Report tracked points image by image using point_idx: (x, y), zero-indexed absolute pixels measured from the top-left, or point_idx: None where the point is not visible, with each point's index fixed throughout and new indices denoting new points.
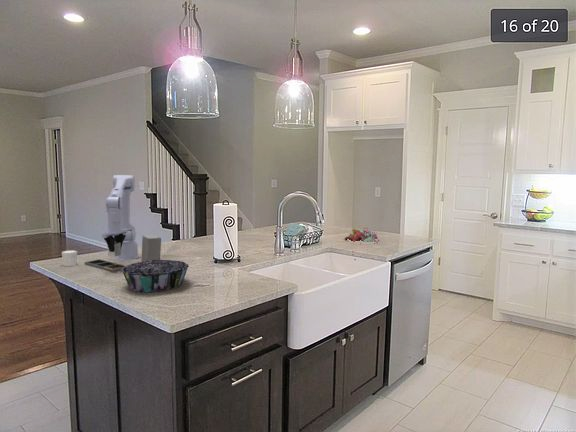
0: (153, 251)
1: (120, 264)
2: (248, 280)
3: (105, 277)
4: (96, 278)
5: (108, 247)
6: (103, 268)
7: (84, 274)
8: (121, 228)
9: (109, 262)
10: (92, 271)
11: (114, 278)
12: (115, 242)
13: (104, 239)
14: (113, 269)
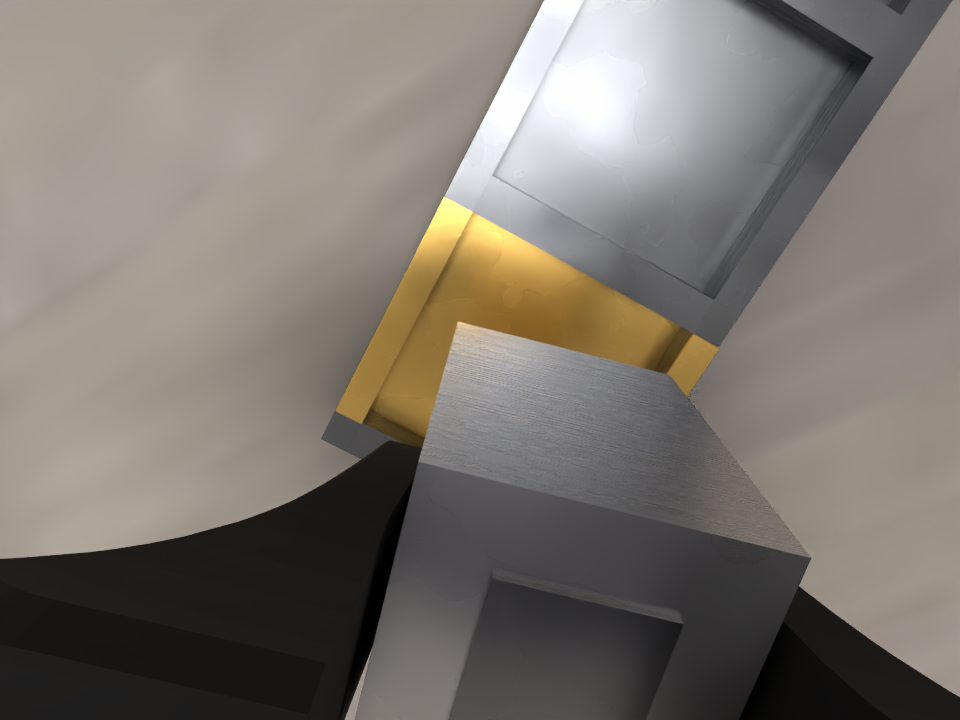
0: None
1: (685, 389)
2: None
3: (96, 420)
4: (5, 327)
5: (341, 478)
6: (451, 186)
7: (130, 3)
8: None
9: (846, 97)
10: (346, 27)
11: (97, 550)
12: (614, 713)
13: (40, 571)
14: (349, 427)
